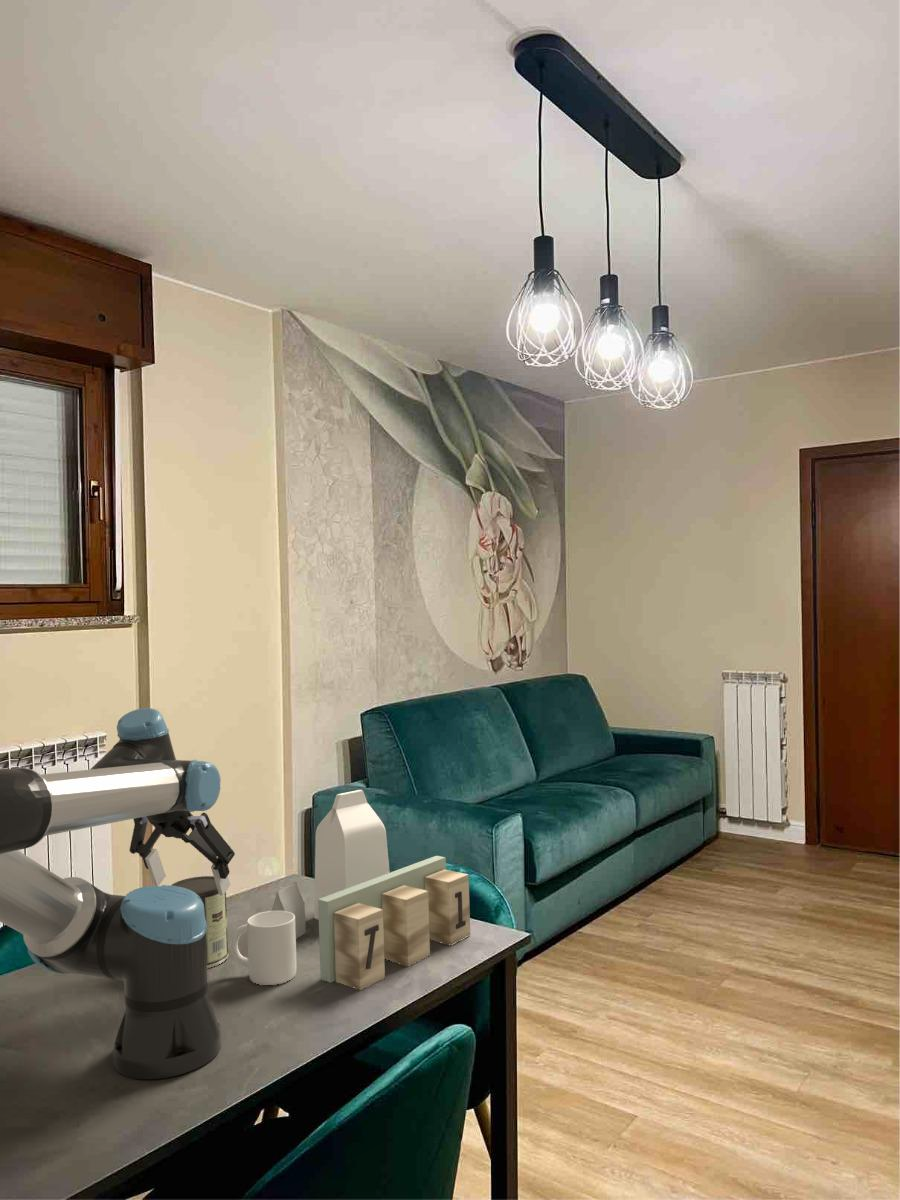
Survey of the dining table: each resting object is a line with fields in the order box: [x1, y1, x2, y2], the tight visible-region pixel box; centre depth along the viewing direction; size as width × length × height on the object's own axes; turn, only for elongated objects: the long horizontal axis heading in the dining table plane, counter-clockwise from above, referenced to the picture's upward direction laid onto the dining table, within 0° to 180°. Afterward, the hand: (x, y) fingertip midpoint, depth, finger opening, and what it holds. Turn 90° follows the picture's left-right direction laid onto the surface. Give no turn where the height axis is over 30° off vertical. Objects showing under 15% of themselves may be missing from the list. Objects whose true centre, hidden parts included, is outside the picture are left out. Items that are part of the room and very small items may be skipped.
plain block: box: [382, 885, 431, 967], centre depth 166 cm, size 6×6×12 cm
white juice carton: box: [270, 881, 306, 940], centre depth 178 cm, size 4×7×10 cm, turn 159°
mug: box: [229, 910, 297, 986], centre depth 160 cm, size 12×8×10 cm
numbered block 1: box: [425, 869, 471, 946], centre depth 175 cm, size 6×6×12 cm
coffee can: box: [170, 875, 230, 969], centre depth 168 cm, size 10×10×14 cm
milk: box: [313, 789, 391, 921], centre depth 189 cm, size 12×12×26 cm
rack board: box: [318, 855, 447, 984], centre depth 169 cm, size 2×32×14 cm, turn 140°
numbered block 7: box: [334, 903, 386, 991], centre depth 157 cm, size 6×6×12 cm
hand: (192, 885), depth 165 cm, fingers open, 13 cm apart
